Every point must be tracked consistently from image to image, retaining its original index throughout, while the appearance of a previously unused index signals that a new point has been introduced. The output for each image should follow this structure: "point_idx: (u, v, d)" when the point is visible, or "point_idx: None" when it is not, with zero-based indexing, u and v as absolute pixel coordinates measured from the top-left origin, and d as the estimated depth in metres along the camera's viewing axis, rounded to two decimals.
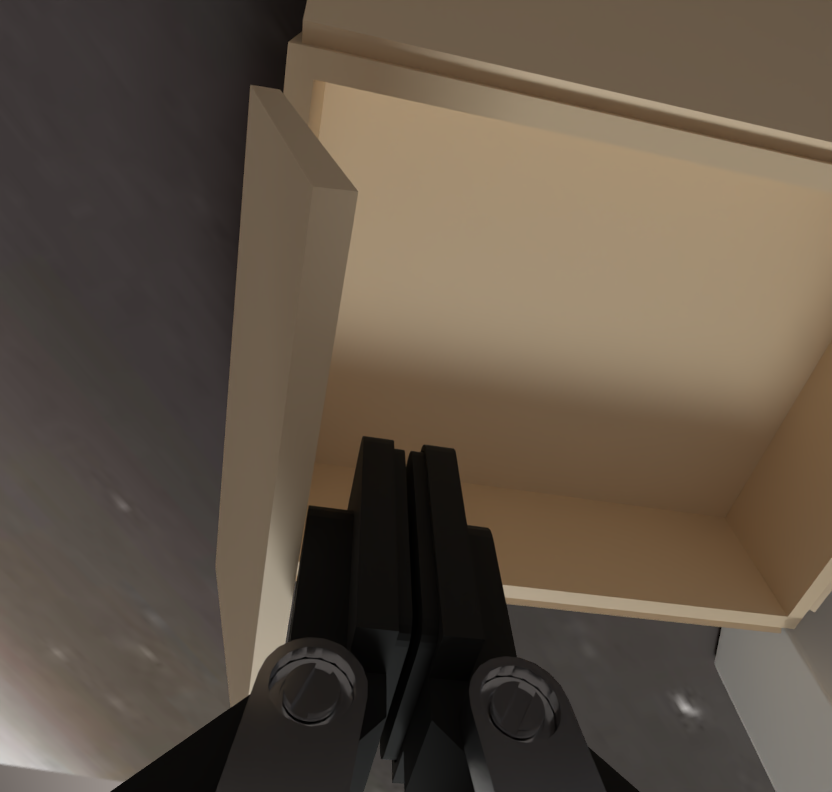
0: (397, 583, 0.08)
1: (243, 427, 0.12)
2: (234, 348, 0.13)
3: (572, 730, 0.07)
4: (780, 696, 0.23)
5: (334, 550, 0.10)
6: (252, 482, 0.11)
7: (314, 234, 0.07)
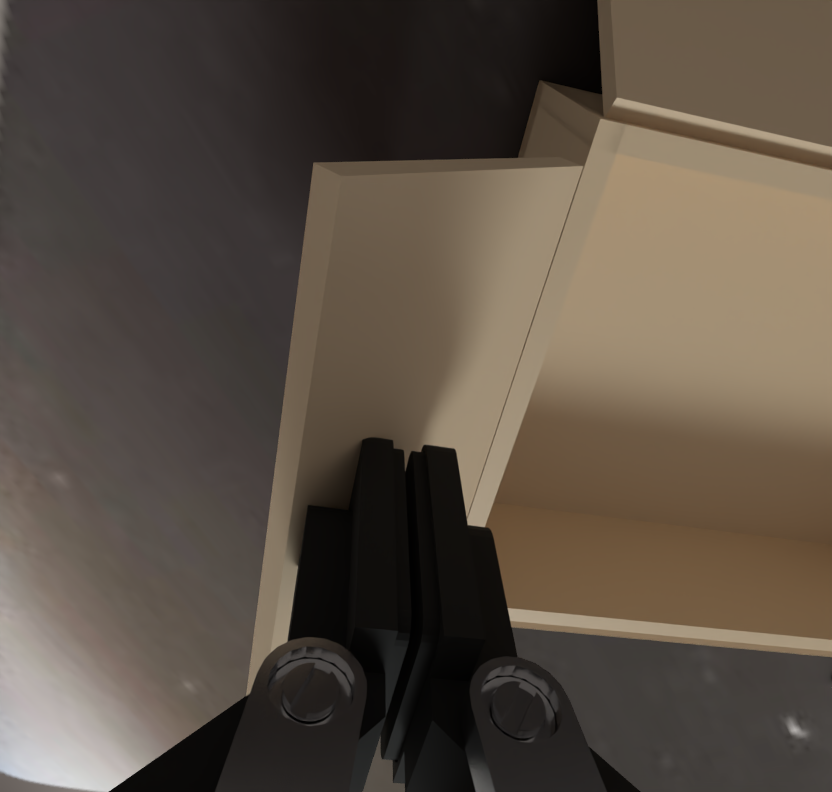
0: (396, 583, 0.08)
1: None
2: None
3: (573, 730, 0.07)
4: None
5: (333, 550, 0.10)
6: None
7: (313, 208, 0.08)
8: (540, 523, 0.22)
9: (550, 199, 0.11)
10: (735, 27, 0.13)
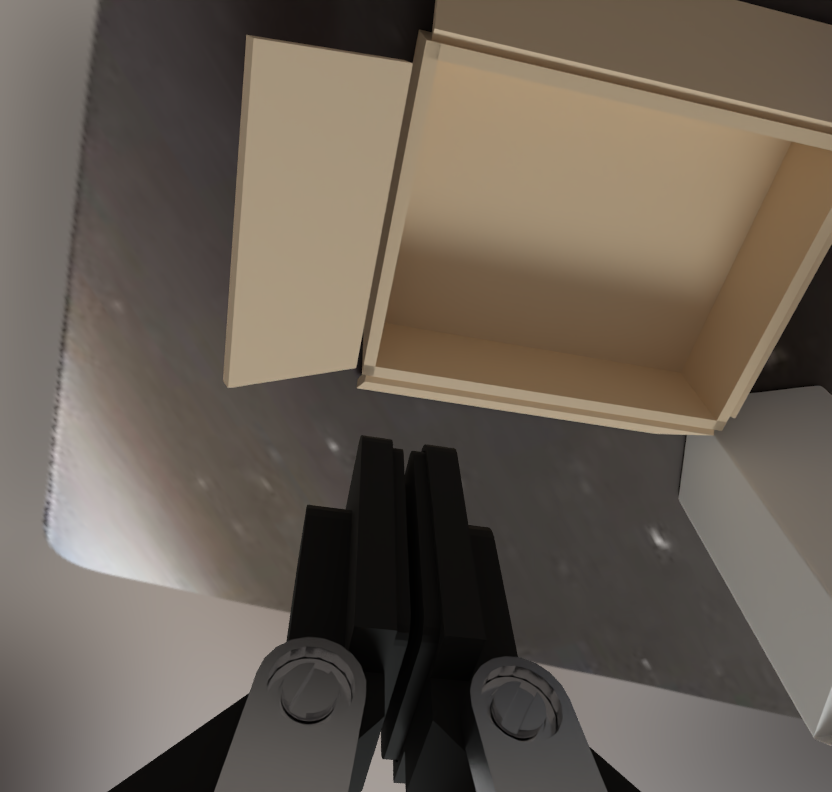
0: (395, 582, 0.08)
1: None
2: None
3: (573, 730, 0.07)
4: (717, 493, 0.34)
5: (332, 550, 0.10)
6: None
7: (246, 55, 0.19)
8: (441, 339, 0.32)
9: (391, 79, 0.22)
10: None
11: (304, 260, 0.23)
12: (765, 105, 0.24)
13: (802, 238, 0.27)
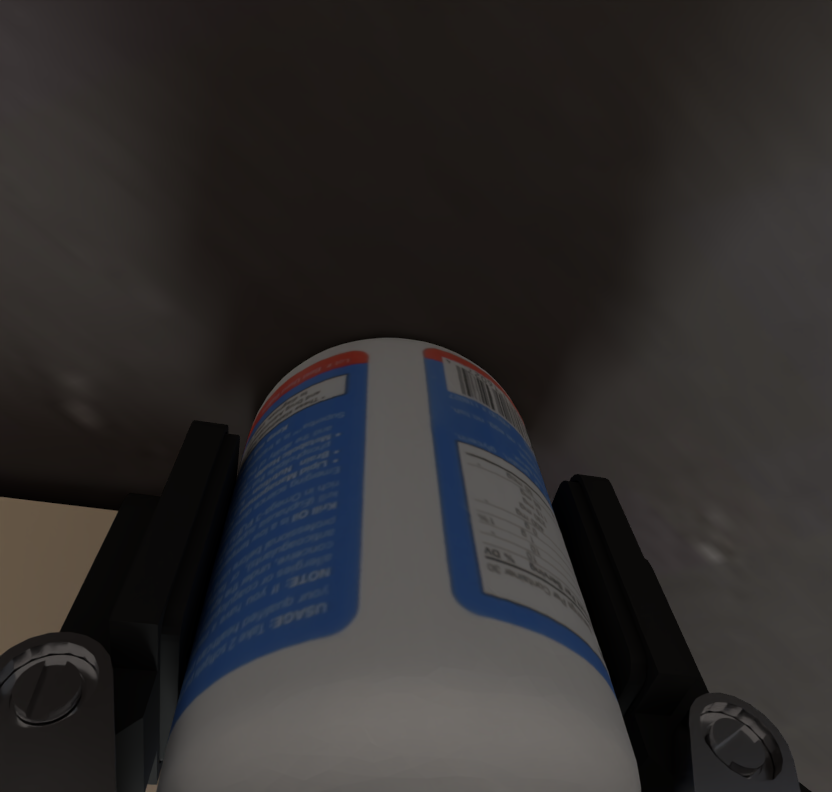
0: (175, 574, 0.08)
1: None
2: None
3: (790, 787, 0.07)
4: None
5: (140, 540, 0.09)
6: None
7: None
8: None
9: None
10: None
11: None
12: None
13: None
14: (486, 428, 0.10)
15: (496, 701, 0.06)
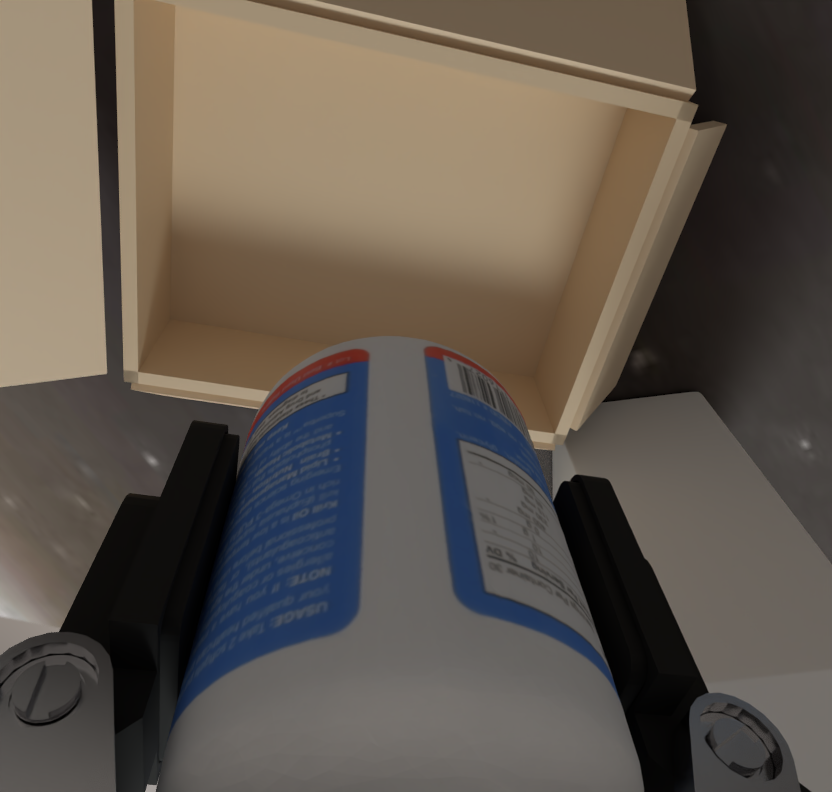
0: (175, 574, 0.08)
1: None
2: None
3: (790, 787, 0.07)
4: None
5: (140, 540, 0.09)
6: None
7: None
8: (244, 339, 0.28)
9: (62, 16, 0.17)
10: None
11: None
12: (554, 54, 0.20)
13: (628, 219, 0.23)
14: (487, 427, 0.10)
15: (499, 701, 0.06)
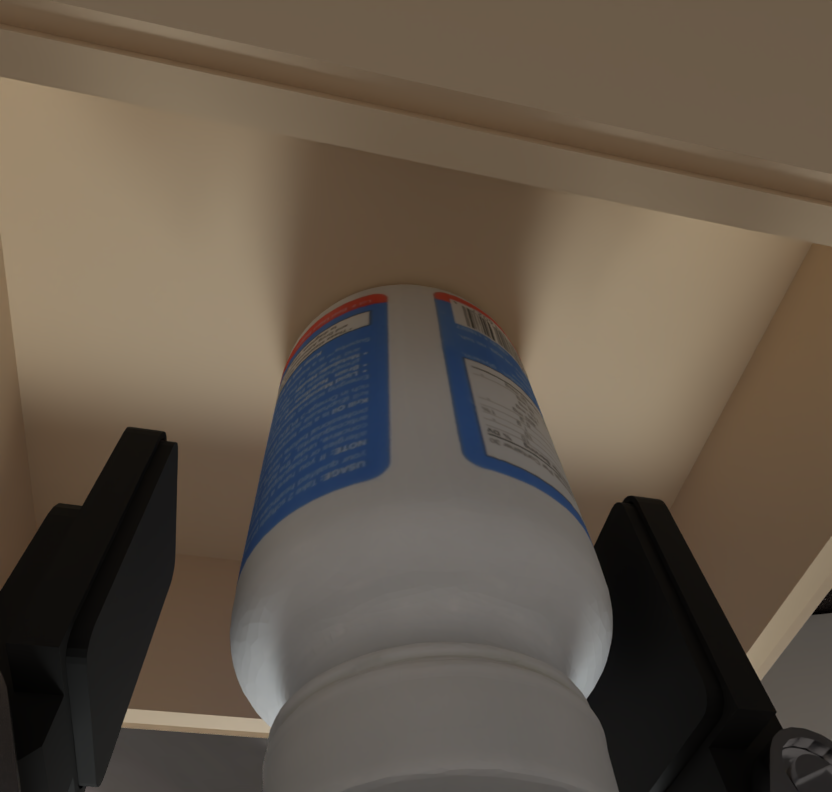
0: (85, 591, 0.07)
1: None
2: None
3: None
4: None
5: None
6: None
7: None
8: None
9: None
10: None
11: None
12: (774, 156, 0.09)
13: None
14: (488, 351, 0.12)
15: (497, 520, 0.08)
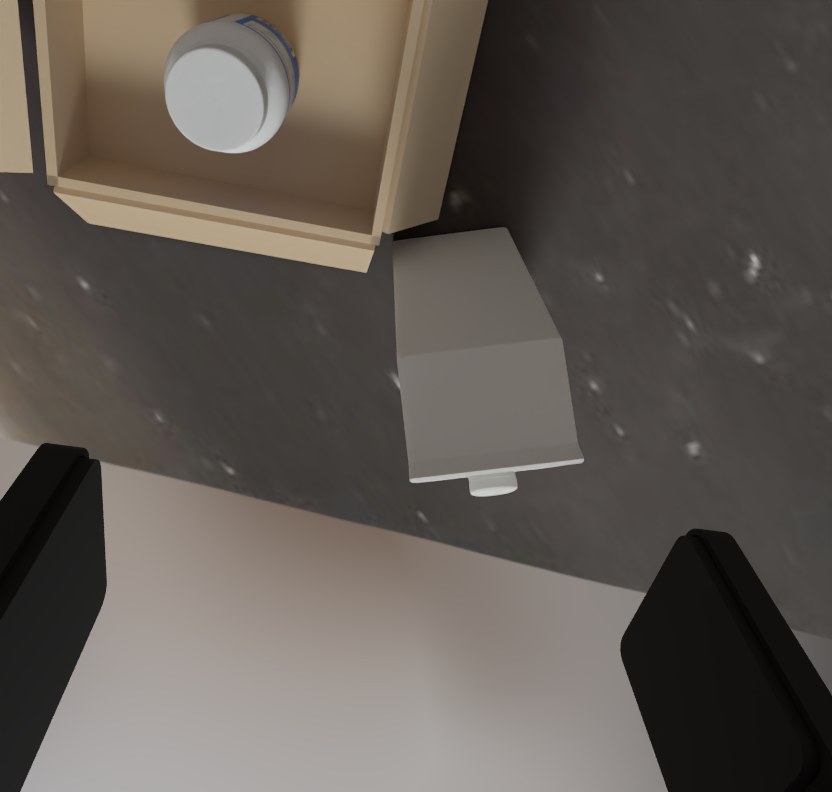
0: None
1: None
2: None
3: None
4: None
5: None
6: None
7: None
8: (144, 171, 0.37)
9: None
10: None
11: None
12: None
13: (402, 59, 0.32)
14: (265, 25, 0.32)
15: (237, 27, 0.28)
